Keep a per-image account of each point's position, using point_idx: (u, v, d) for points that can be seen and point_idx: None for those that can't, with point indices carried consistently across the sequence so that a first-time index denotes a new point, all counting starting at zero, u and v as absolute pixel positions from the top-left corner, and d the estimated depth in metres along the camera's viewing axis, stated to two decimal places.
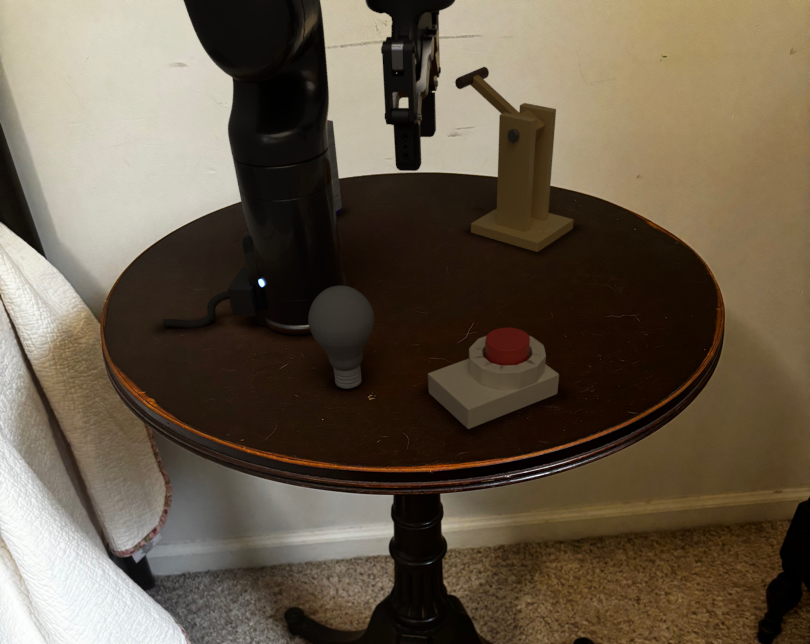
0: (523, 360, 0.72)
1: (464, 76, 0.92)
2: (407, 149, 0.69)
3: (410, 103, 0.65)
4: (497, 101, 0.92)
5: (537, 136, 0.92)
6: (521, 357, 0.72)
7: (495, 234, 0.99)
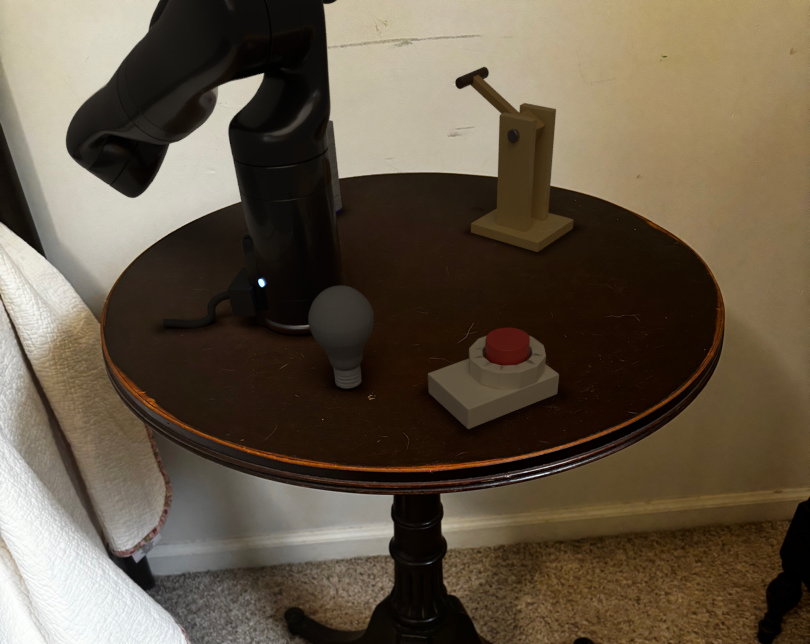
0: (523, 360, 0.72)
1: (464, 76, 0.92)
2: None
3: None
4: (497, 101, 0.92)
5: (537, 136, 0.92)
6: (521, 357, 0.72)
7: (495, 234, 0.99)
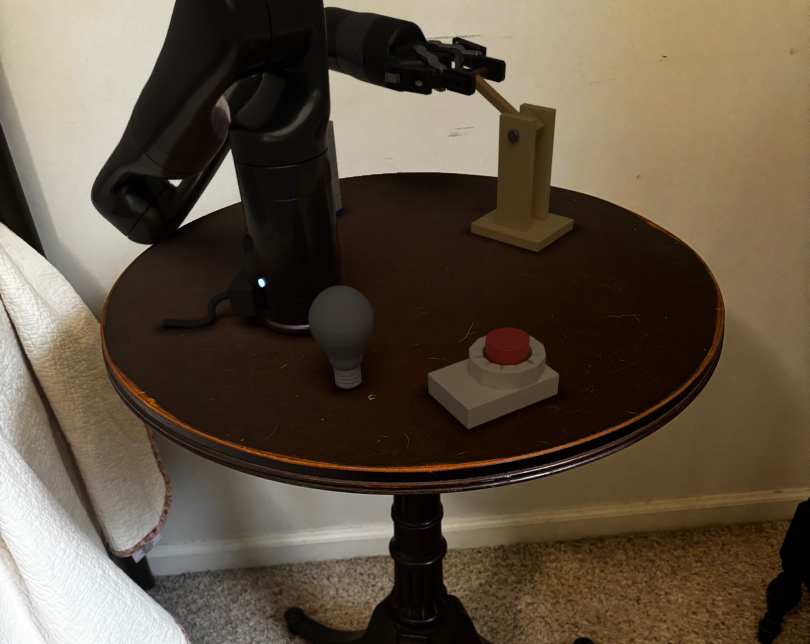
0: (523, 360, 0.72)
1: None
2: (454, 82, 0.91)
3: (415, 72, 0.91)
4: (497, 101, 0.92)
5: (537, 136, 0.92)
6: (521, 357, 0.72)
7: (495, 234, 0.99)
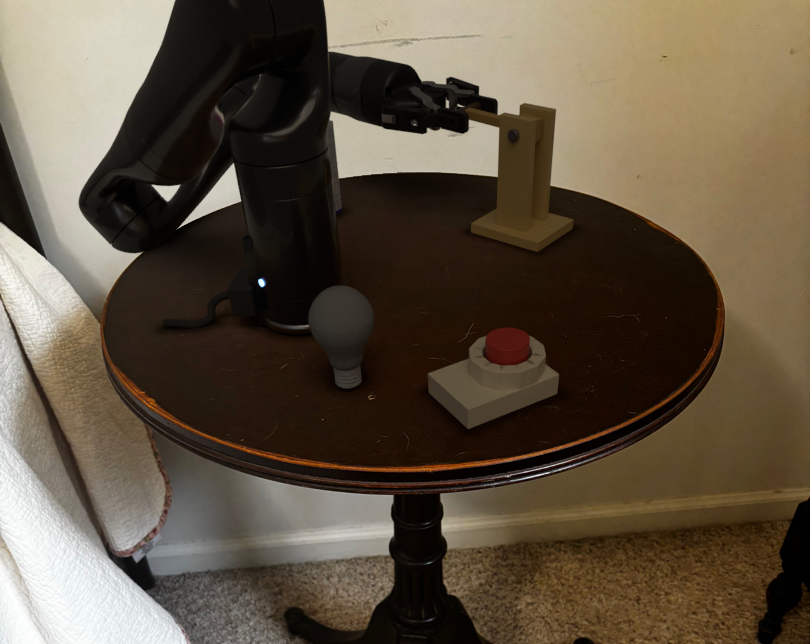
0: (523, 360, 0.72)
1: None
2: (448, 121, 0.94)
3: (411, 113, 0.94)
4: (492, 118, 0.94)
5: (539, 131, 0.92)
6: (521, 357, 0.72)
7: (495, 234, 0.99)
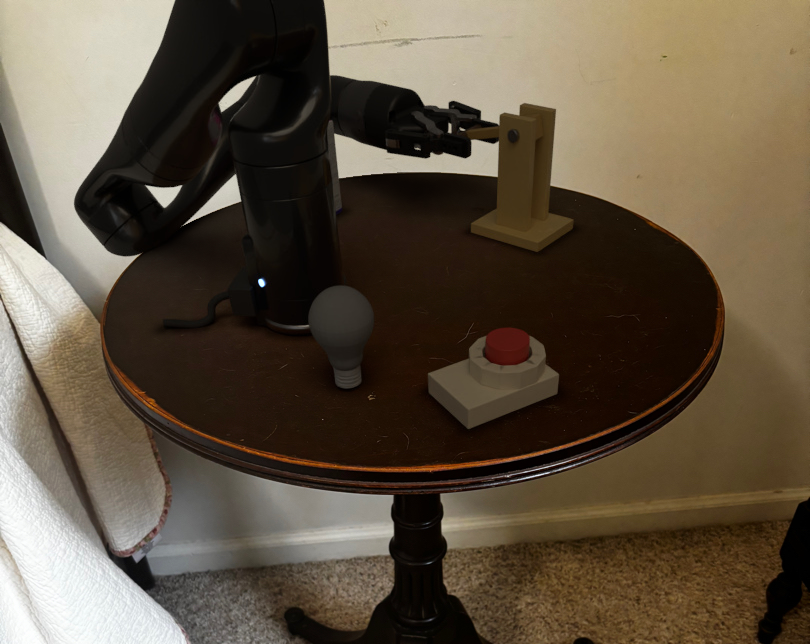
0: (523, 360, 0.72)
1: (456, 134, 0.97)
2: (451, 146, 0.96)
3: (414, 138, 0.96)
4: (492, 130, 0.95)
5: (539, 127, 0.92)
6: (521, 357, 0.72)
7: (495, 234, 0.99)
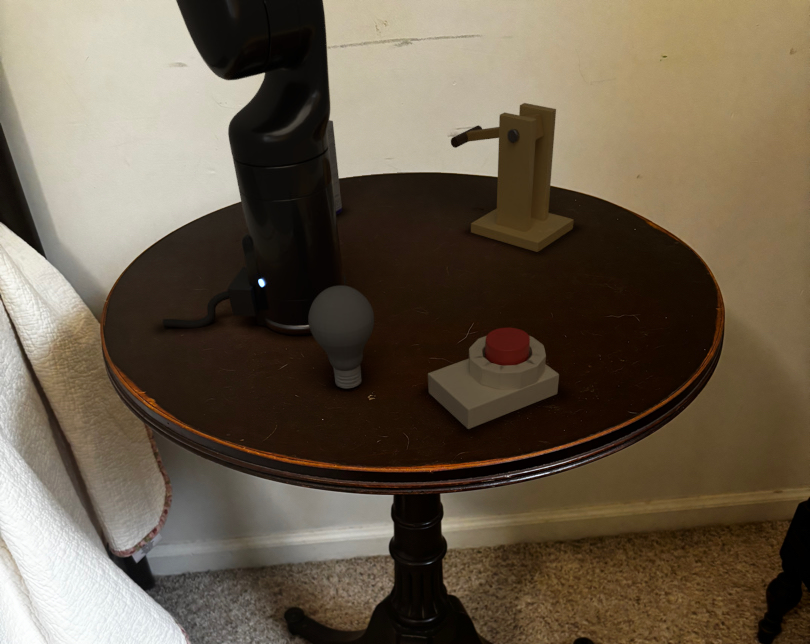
0: (523, 360, 0.72)
1: None
2: None
3: None
4: (492, 131, 0.95)
5: (539, 127, 0.92)
6: (521, 357, 0.72)
7: (495, 234, 0.99)
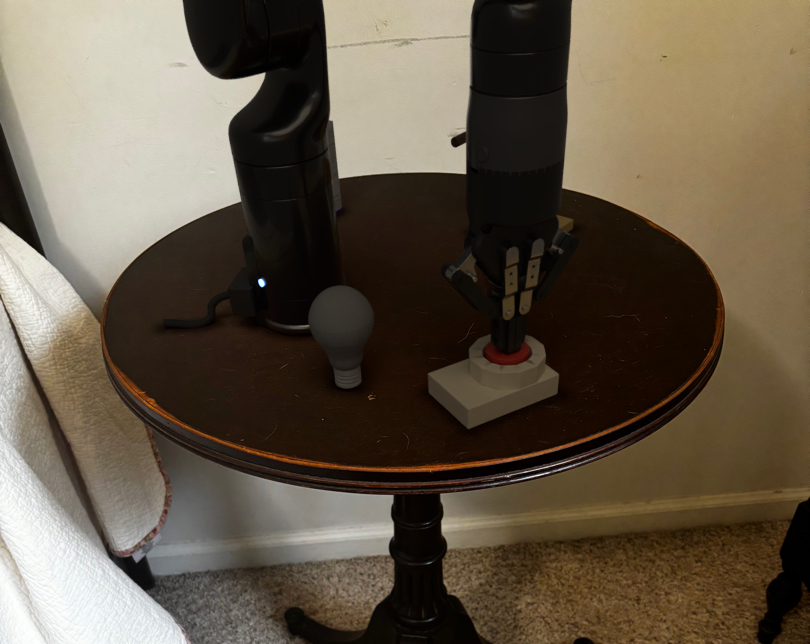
0: None
1: None
2: (496, 334, 0.71)
3: (478, 310, 0.67)
4: None
5: None
6: None
7: None
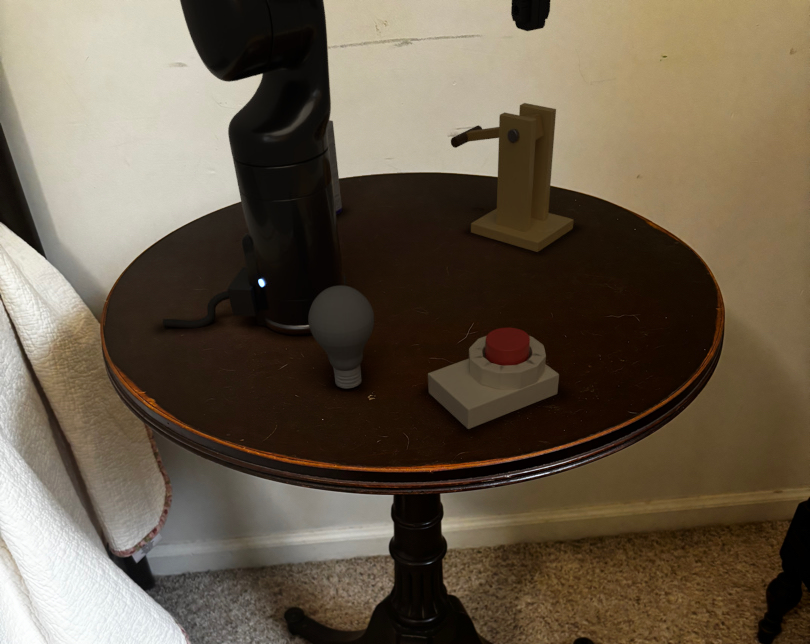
0: (523, 360, 0.72)
1: None
2: (518, 2, 0.64)
3: None
4: (492, 131, 0.95)
5: (539, 127, 0.92)
6: (521, 357, 0.72)
7: (495, 234, 0.99)
